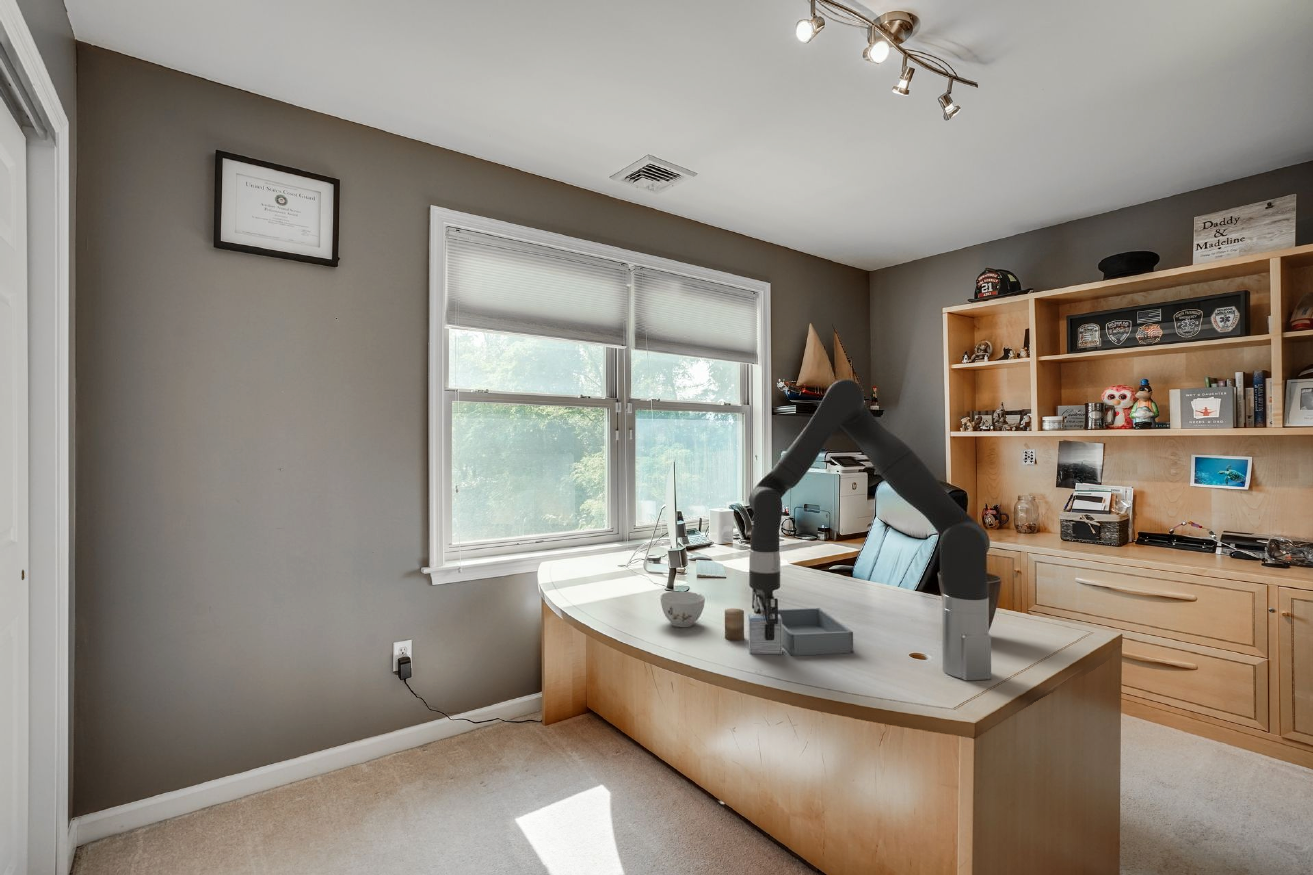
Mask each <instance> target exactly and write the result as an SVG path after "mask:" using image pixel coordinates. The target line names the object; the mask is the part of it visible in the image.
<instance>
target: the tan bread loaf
mask: <svg viewBox="0 0 1313 875" xmlns="http://www.w3.org/2000/svg"><path fill="white" fill-rule="evenodd" d="M724 638H725V640H727V641H732V642H740V641H743V640H745V610H743V609H740V608H735V607H733V608H732V607H731V608H727V609H726V608H725V610H724Z"/></svg>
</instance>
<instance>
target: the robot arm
mask: <svg viewBox="0 0 1313 875" xmlns="http://www.w3.org/2000/svg"><path fill="white" fill-rule="evenodd" d="M864 394H865V393H864V391H863V389H862V386H860V384H859V383H858V382H856V381H855V380H852V379H846V378H845V379H839V380H837V381H835V382H833V383H832V384H831V385H830V386H829V387H828V388H827V390H826V392H825V395H824V396H823V399H822V400H821V402H820V403H819V405H818V407H817V409H816V411H815V412H814V413H813V415H812V417H811V418H810V420H809V421H808V423H807V425H805V427H804V428H803V429H802V431H801V432H800V434H799V435H798V436H797V438H796V439H795V440H794V441H793V443H791V445H790V446H789V447H788V449H786V451H785V452H784V453H783V455H782V456H781V458H780V459H779V460H777V463H776V464H775V465H774V467H773V468H772V469H771V470H770V472H768V473H767V474H766V475H765V476H764V477H763V478H762V479H761V480H760V481H759V482H758V483H757V484H756V485H755V486H754V487H753V489H752V491H751V492H750V494H749V497H748V504H749V507H750V509H752V511H753V527H751V530H750V538H749V539H750V548H749V550H750V552H749V558H748V560H749V562H748V563H749V565H748V566H749V567H748V568H749V569H748V570H749V572H748V576H749V577H748V578H749V579H748V580H749V581H748V585H749V587H750V588H751V589H752V594H751V595H752V596H751V599H752V600H751V608H752V610H753V614H761V615H762V616H763V617H764V623H765V639H766V640H767V641H768V640H774V625H775V624H778V609H779V599H778V598H775V596H774V591H777V590H779V589H780V588H781V555H780V554H781V553H780V528H781V524H782V518H783V517H782V516H783V500H782V498H783V496H784V495H785V494H786V493H788V491H789V490H791V489H793V488H794V487H795V486H797V485H798V484H799V483H800V481H801V480H802V479H803V478H804V477H805V475H806V474H807V472H808V471H809V470H810V469H811V467H812V465H814V463H815V461H816V459H817V458H818V456H819V455H820V453H821V452H822V450H823V448H824V447H825V445H826V443H827V442H828V440H829V439H830V438H831V436H832V434H834V432H835V431H836V430H837V429H838V427H840V428H841V429H842V430H843V431H844V432H845V433H847V435H849V437H850V438H852V440H853V441H854V442H855V443H856V444H857V445H858V447H859V449H861V451H862V452H863V453H864V455H865V456H866V458H867V459H868V461H869V462H870V464H872V466H873V467H874V468H875V470H876V471H877V473H878V474H879V475H880V476H881V478H882V479H883V480H884V481H885V482H886V483H887V484H888V485H889V487H890V488H891V489H892V490H893V491H894V492H895V493H896V494H897V495H898V496H899V497H900V498H902V499H903V500H904V501H905V502H906V503H908V504H909V505H911V507H913V508H915V509H916V511H918V512H919V513H920V514H922V515H923V516H924V517H925V519H927V520H928V522H930V524H931V525H932V526H933V528H934V530H935V531H936V532H937V533H938V535H939V536H940V540H939V572H940V578H941V583H942V596H941V599H942V601H941V602H942V606H941V609H942V610H941V611H942V612H941V613H942V616H941V617H942V625H941V626H942V627H941V628H942V632H941V633H942V634H941V635H942V639H941V640H942V641H941V642H942V650H941V651H942V670H943V672H944V673H946V674H947V675H950V676H953V677H956V678H957V679H958V678H959V679H962V680H963V681H977V680H978V681H980V680H981V681H982V680H992V636H991V635H990V633H989V631H990V630H989V587H988V582H987V573H988V565H987V563H988V562H987V561H988V559H987V556H988V552H989V550H990V545H991V544H990V543H991V542H990V541H991V540H990V537H989V535H988V533H987V531H986V529H984V527H983V526H982V525H980V524H979V523H978V521H976V520H975V519H974V518H973V517H972V516H971V515H970V514H968V513H967V512H966V511H965V510H964V508H962V507H961V506H960V505H959V504H958V503H957V502H956V501H955V500H954V499H953V498H952V497H951V496H950V494H949V493H948V492H947V491H946V489H945V488H944V487H943V485H942V484H941V483H940V481H939V480H938V479H937V478H936V475H934V474H933V472H932V471H931V470H930V469H929V468H928V466H927V465H926V464H925V463H924V462H923V460H922V459H921V458H920V457H919V456H918V455H917V453H915V452H914V450H913V449H912V448H911V447H910V446H908V444H907V443H905V442H904V441H903V440H901V439H900V438H899V437H898V436H896V435H895V434H893V433H892V432H890V431H889V430H887V429H886V428H885V427H884V426H883V425H882V424H881V423H879V421H878V420H877V419H876V417H875V415H873V414H872V412H871V411H870V409H869V408H868V406H866V403H865V395H864ZM770 616H771V617H772V619H770Z"/></svg>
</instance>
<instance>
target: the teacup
mask: <svg viewBox="0 0 1313 875" xmlns="http://www.w3.org/2000/svg"><path fill="white" fill-rule="evenodd" d="M705 602H706V597H705V595H702V594H698V593H696V592H692V591H676V590H674V591H668V592H664V593H661V595H660V605H661V609H662V611H663V614H664V616H665V618H666V619H667V620H668V621H669V622H670V624H671V625H672V626H674V627H677V628H690V627H693V625H694V624H695V623H696V622H697V621H698V620H699V618H700V617H701V616H702V613H703V610H704V608H705Z"/></svg>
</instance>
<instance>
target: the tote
mask: <svg viewBox="0 0 1313 875" xmlns="http://www.w3.org/2000/svg"><path fill="white" fill-rule="evenodd" d="M778 614H780V616H781V619H782V649H784V650H785V651H786V652H787V653H788V655H790V656H793V657H794V656H811V655H813V656H814V655H833V654H834V655H836V654H838V655H839V654H853V653H854V632H853V630H851V629H850V628H848V627H846V626H845V625H843V624H842V623H841V622H840V621H838V620H837V619H835V618H834V617H833V616H832V615H831V614H828V613H827V611H824V610H823V609H822V608H820V607H813V608H811V607H810V608H809V607H808V608H790V609H789V608H784V609H779V608H778Z"/></svg>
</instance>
